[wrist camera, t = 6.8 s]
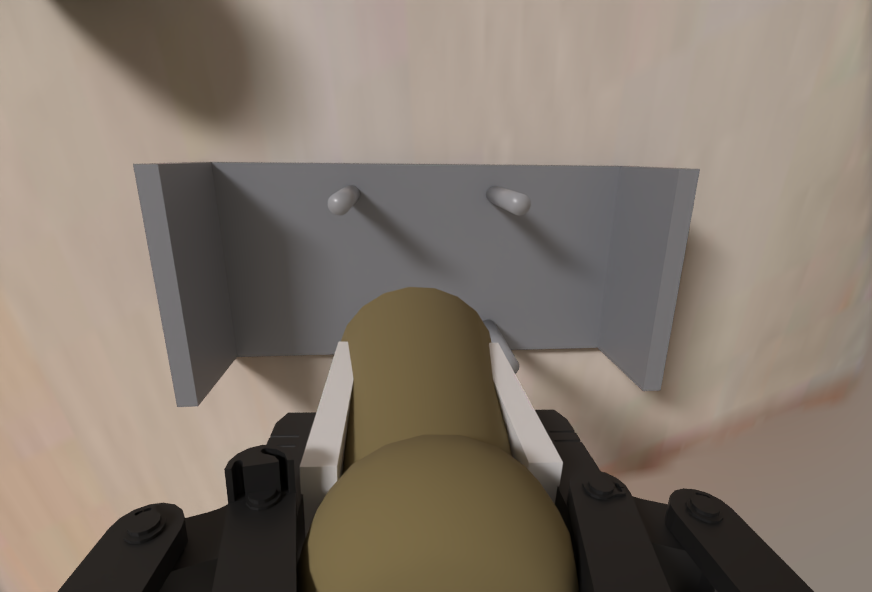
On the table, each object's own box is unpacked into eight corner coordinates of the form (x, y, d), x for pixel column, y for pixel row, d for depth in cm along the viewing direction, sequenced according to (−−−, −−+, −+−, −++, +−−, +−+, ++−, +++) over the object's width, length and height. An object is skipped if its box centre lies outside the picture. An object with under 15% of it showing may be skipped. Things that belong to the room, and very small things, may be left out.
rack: (225, 351, 35) (177, 406, 27) (198, 161, 30) (133, 163, 23) (606, 342, 37) (660, 390, 30) (629, 166, 33) (699, 169, 25)
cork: (378, 450, 18) (354, 839, 8) (309, 325, 17) (159, 616, 6) (515, 394, 18) (675, 719, 8) (460, 260, 16) (574, 449, 6)
